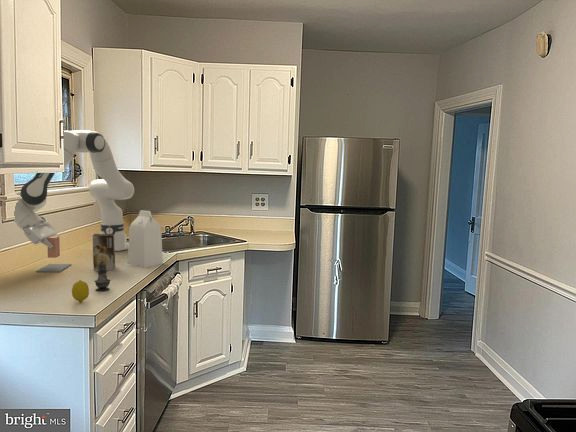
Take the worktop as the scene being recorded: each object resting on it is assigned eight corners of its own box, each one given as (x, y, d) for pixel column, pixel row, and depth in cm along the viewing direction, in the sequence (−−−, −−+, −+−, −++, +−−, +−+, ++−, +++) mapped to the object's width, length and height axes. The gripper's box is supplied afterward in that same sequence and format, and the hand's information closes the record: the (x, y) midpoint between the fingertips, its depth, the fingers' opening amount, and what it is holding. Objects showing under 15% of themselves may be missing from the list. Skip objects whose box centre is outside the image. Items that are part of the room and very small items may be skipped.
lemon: (89, 299, 166) (88, 277, 165) (89, 303, 161) (88, 281, 160) (72, 300, 163) (71, 278, 163) (71, 305, 158) (71, 282, 158)
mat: (49, 265, 216) (49, 263, 216) (71, 265, 217) (71, 264, 217) (36, 272, 202) (36, 270, 202) (60, 272, 203) (60, 270, 203)
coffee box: (115, 267, 216) (115, 233, 214) (114, 270, 210) (114, 235, 208) (94, 267, 214) (94, 233, 212) (92, 270, 207) (92, 235, 206)
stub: (51, 255, 211) (51, 235, 210) (59, 255, 211) (59, 235, 210) (47, 257, 206) (47, 237, 205) (55, 257, 207) (55, 237, 206)
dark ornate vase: (91, 291, 176) (90, 260, 174) (100, 287, 182) (99, 257, 180) (105, 292, 175) (104, 261, 173) (113, 288, 181) (113, 258, 179)
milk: (163, 263, 227) (163, 211, 224) (144, 267, 217) (144, 212, 214) (146, 260, 233) (146, 209, 230) (127, 263, 224) (127, 210, 221)
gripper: (26, 222, 196) (50, 245, 198) (46, 216, 216) (68, 237, 218) (15, 232, 196) (40, 255, 198) (36, 226, 216) (58, 246, 218)
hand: (55, 246), depth 208 cm, fingers closed on stub, 4 cm apart
